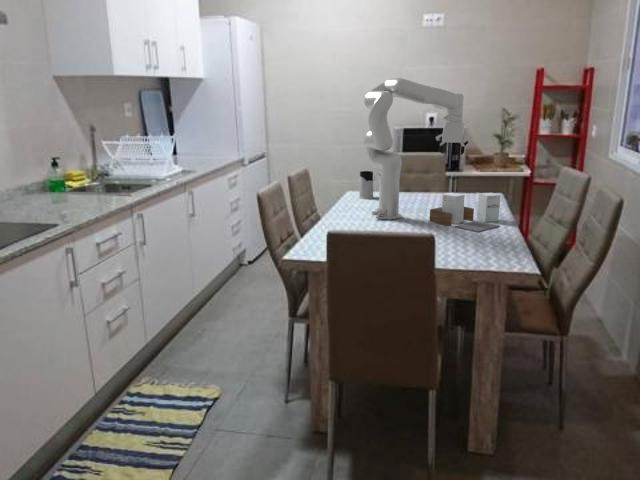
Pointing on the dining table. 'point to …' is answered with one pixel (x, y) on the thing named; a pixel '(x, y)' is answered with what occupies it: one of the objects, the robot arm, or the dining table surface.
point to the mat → (477, 226)
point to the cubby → (448, 216)
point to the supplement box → (488, 207)
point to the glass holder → (367, 184)
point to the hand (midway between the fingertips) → (452, 154)
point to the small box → (454, 206)
